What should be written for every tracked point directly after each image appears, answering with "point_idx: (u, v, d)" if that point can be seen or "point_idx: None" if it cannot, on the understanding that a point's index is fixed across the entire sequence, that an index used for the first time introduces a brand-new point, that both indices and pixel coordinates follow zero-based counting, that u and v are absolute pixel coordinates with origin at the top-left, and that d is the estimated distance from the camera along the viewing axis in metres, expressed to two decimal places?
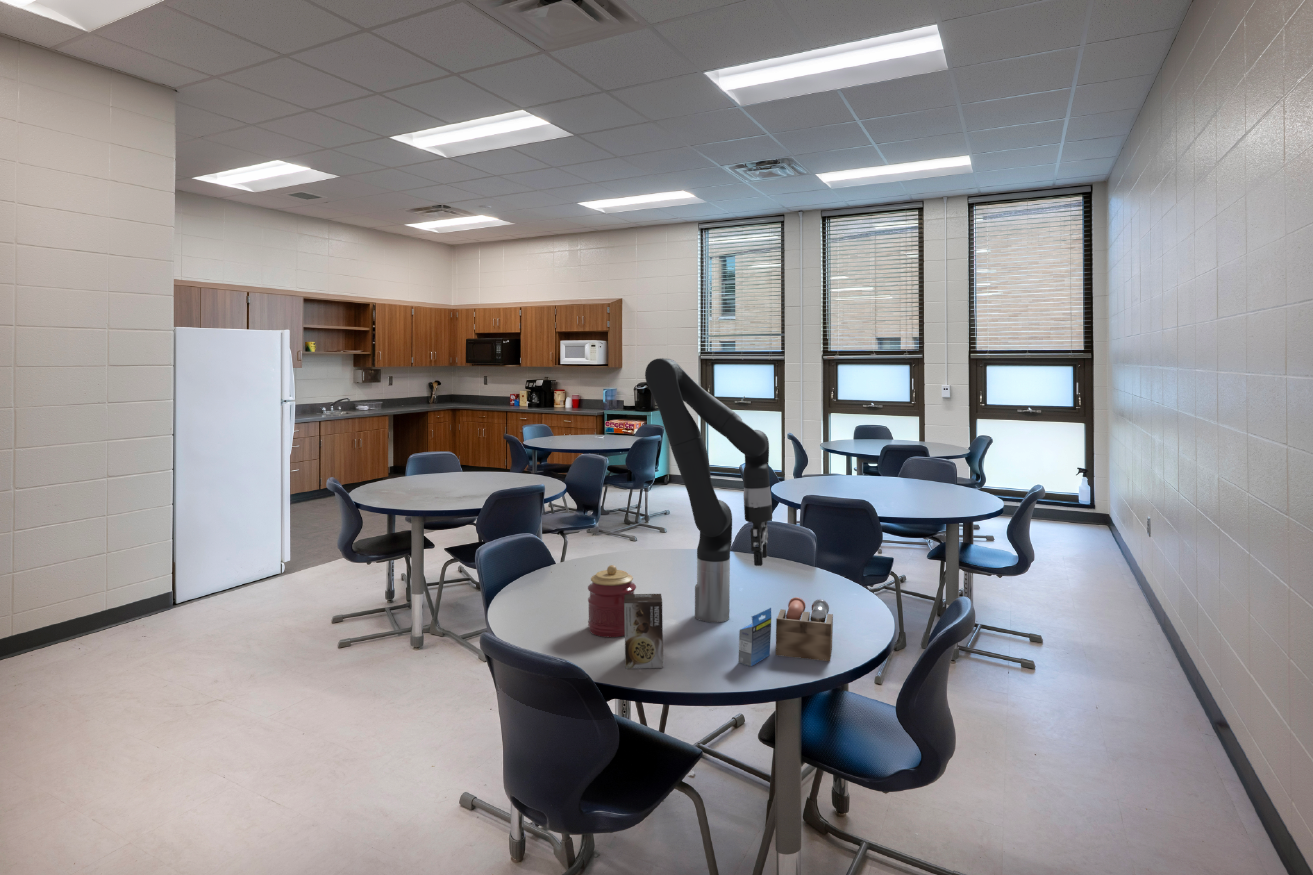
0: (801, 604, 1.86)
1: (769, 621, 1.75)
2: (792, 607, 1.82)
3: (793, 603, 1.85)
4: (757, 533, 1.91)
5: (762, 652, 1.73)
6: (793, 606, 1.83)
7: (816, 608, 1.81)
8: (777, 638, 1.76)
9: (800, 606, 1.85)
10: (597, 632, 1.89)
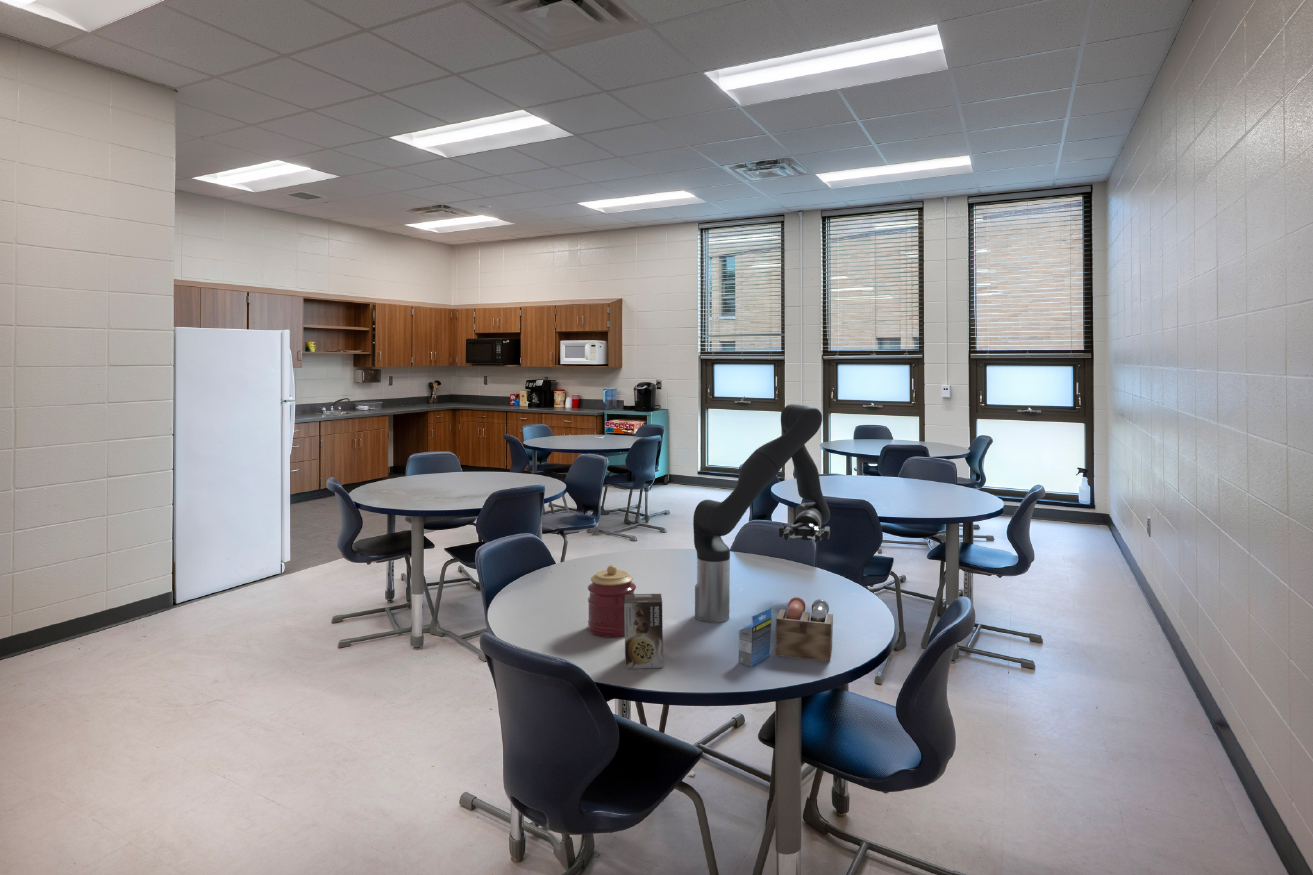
0: (801, 604, 1.86)
1: (769, 621, 1.75)
2: (792, 607, 1.82)
3: (793, 603, 1.85)
4: (829, 533, 2.02)
5: (762, 653, 1.73)
6: (793, 606, 1.83)
7: (816, 608, 1.81)
8: (777, 638, 1.76)
9: (800, 606, 1.85)
10: (597, 632, 1.89)
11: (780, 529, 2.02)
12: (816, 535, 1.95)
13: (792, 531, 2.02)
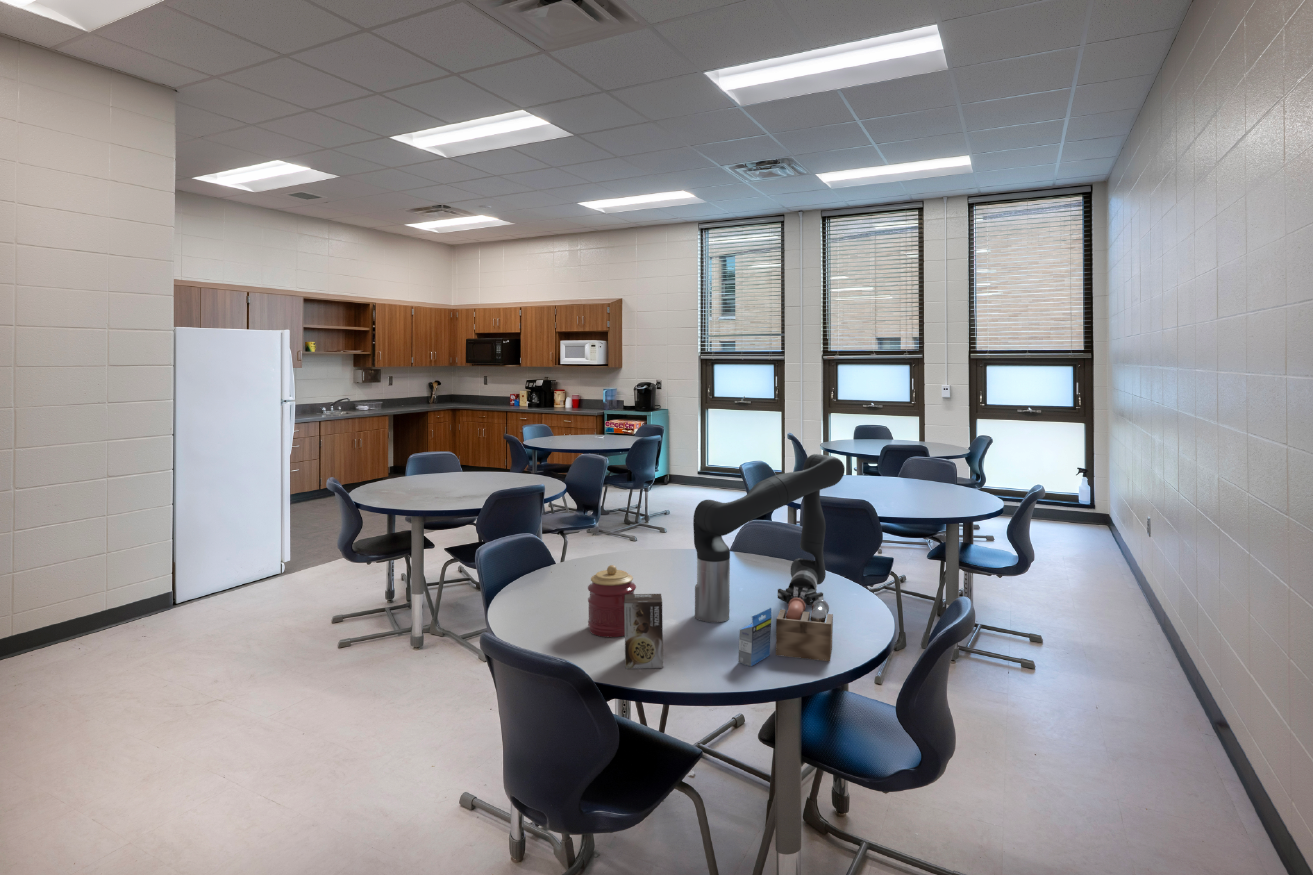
0: (801, 604, 1.86)
1: (769, 621, 1.75)
2: (792, 607, 1.82)
3: (793, 603, 1.85)
4: None
5: (762, 653, 1.73)
6: (793, 606, 1.83)
7: (816, 608, 1.81)
8: (777, 638, 1.76)
9: (800, 606, 1.84)
10: (597, 632, 1.89)
11: (790, 596, 1.94)
12: None
13: None
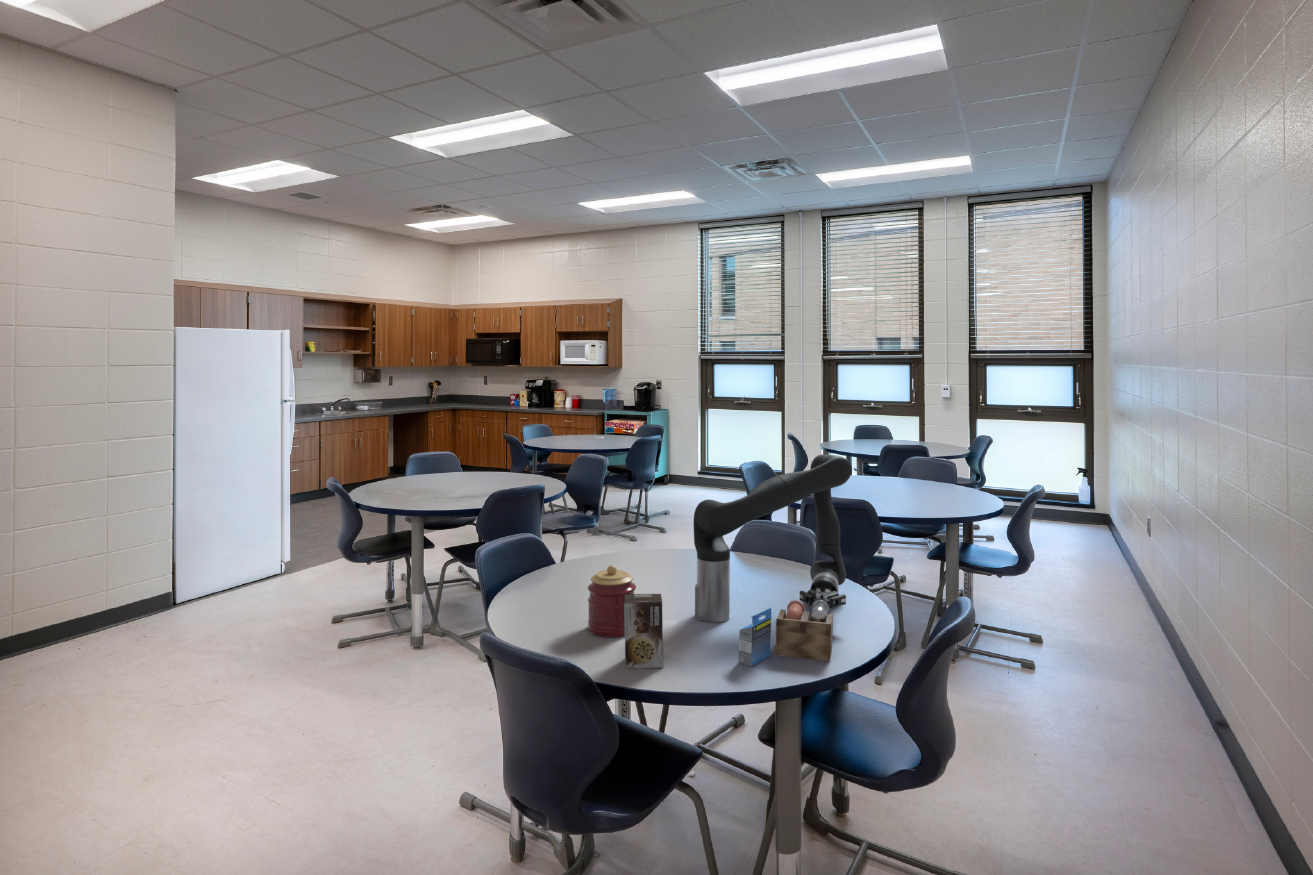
0: (800, 607, 1.84)
1: (769, 621, 1.75)
2: (791, 610, 1.80)
3: (792, 606, 1.83)
4: (843, 602, 1.93)
5: (762, 653, 1.73)
6: (792, 609, 1.80)
7: (816, 608, 1.81)
8: (777, 638, 1.76)
9: (799, 609, 1.82)
10: (597, 632, 1.89)
11: (812, 598, 1.92)
12: None
13: None
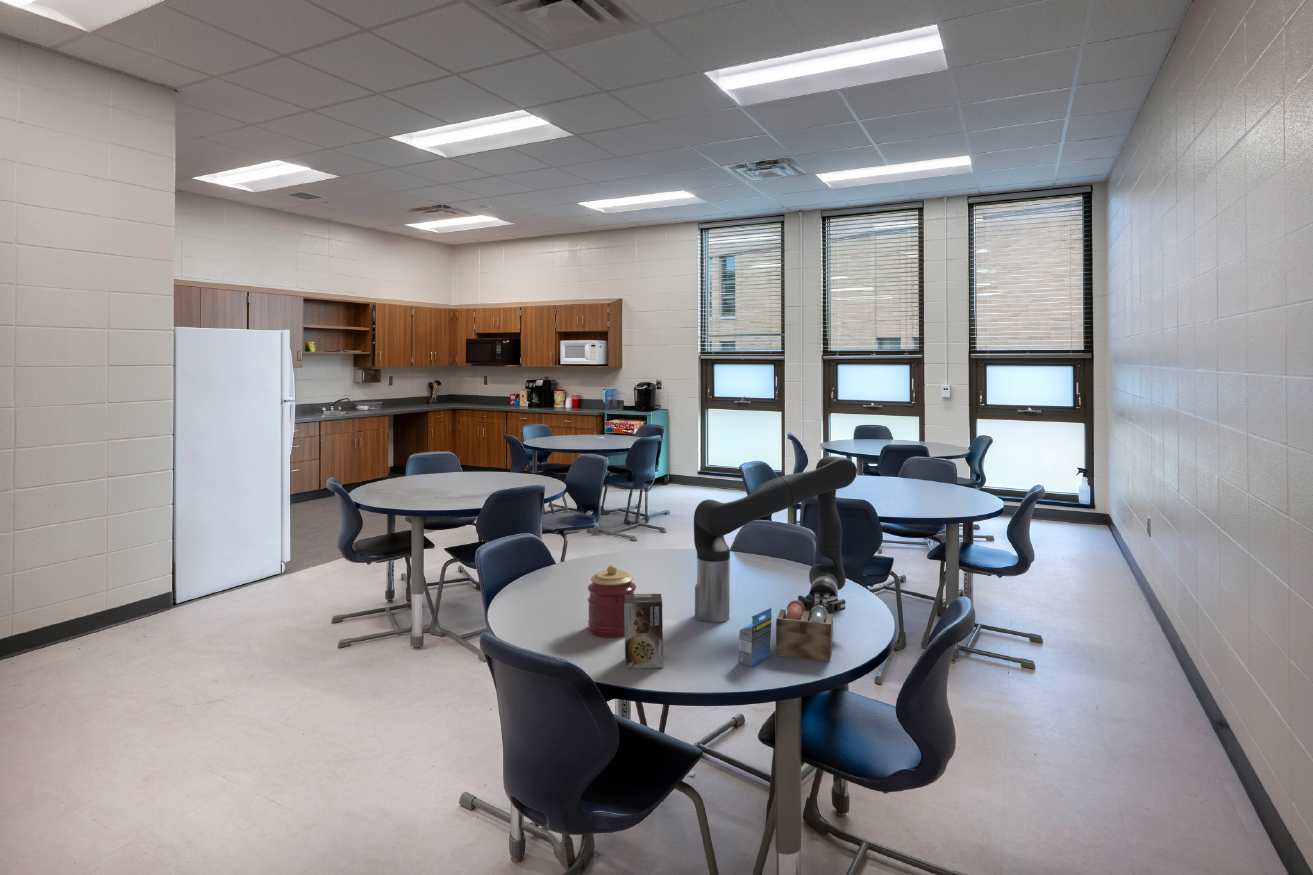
0: (800, 607, 1.84)
1: (769, 621, 1.75)
2: (791, 610, 1.80)
3: (792, 606, 1.83)
4: (842, 607, 1.89)
5: (762, 653, 1.73)
6: (792, 609, 1.80)
7: (815, 614, 1.77)
8: (777, 638, 1.76)
9: (799, 609, 1.82)
10: (597, 632, 1.89)
11: (811, 603, 1.88)
12: None
13: None
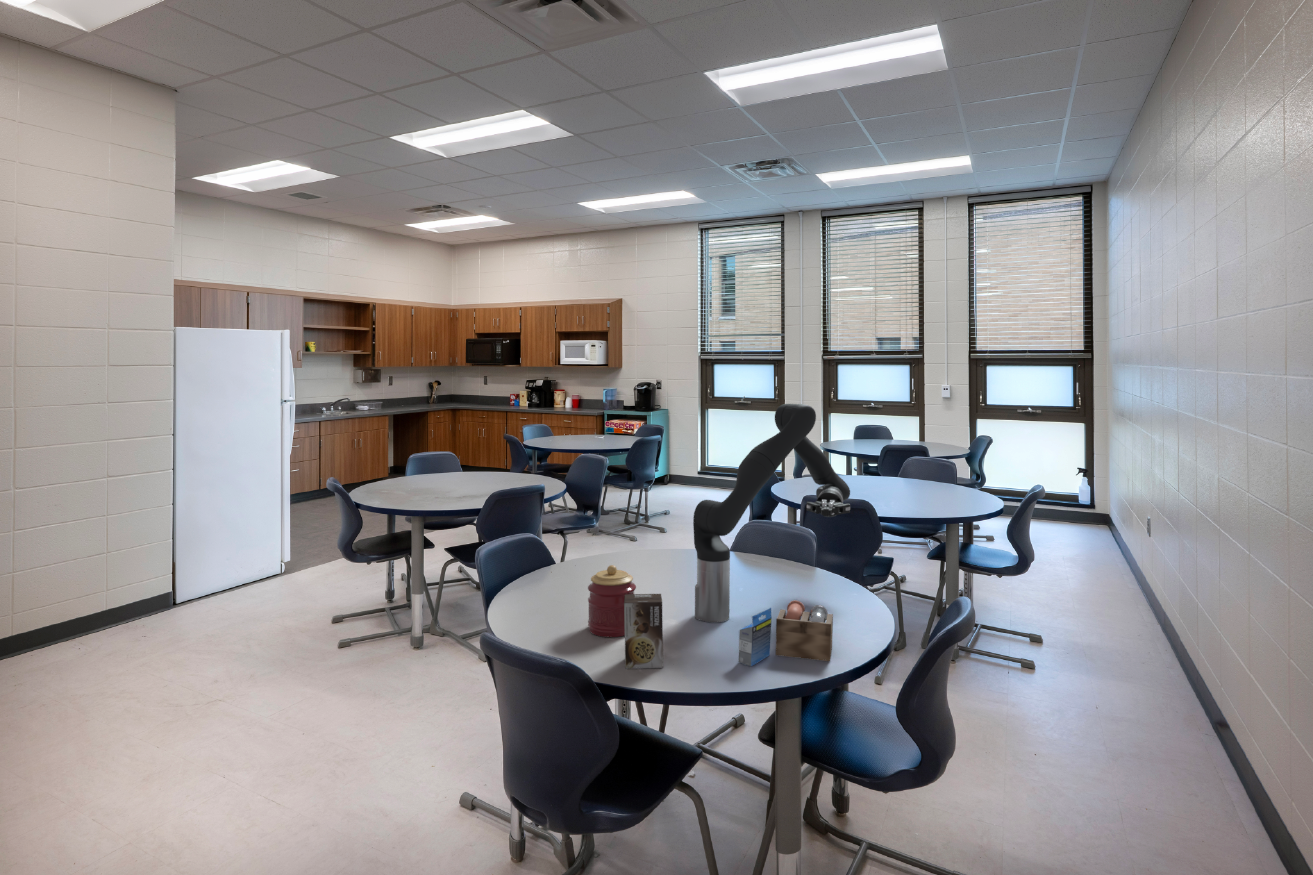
0: (800, 607, 1.84)
1: (769, 621, 1.75)
2: (791, 610, 1.80)
3: (792, 606, 1.83)
4: (847, 510, 2.06)
5: (762, 653, 1.73)
6: (792, 609, 1.80)
7: (815, 614, 1.77)
8: (777, 638, 1.76)
9: (799, 609, 1.82)
10: (597, 632, 1.89)
11: (818, 506, 2.05)
12: (827, 509, 2.00)
13: None
